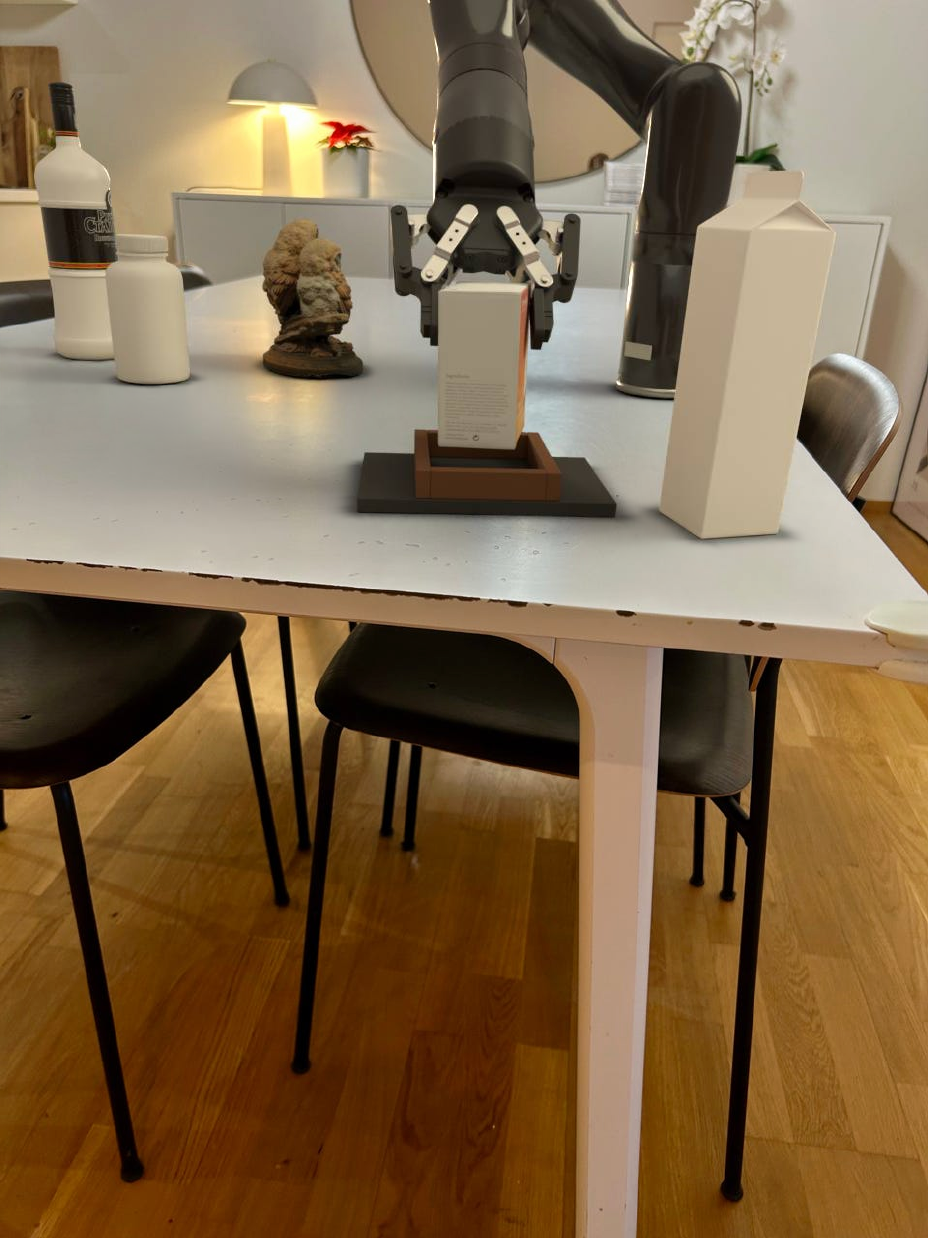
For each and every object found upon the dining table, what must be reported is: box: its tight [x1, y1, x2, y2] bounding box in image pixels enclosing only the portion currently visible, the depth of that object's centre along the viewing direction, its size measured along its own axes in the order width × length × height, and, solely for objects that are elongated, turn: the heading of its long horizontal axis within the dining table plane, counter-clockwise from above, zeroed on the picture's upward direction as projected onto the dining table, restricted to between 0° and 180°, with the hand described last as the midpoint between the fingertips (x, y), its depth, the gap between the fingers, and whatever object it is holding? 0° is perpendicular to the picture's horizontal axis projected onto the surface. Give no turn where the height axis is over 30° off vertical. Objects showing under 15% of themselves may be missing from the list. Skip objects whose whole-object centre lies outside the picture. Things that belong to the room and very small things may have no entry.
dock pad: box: [356, 428, 617, 518], centre depth 68 cm, size 18×12×3 cm
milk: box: [658, 170, 837, 540], centre depth 58 cm, size 6×6×22 cm
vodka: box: [33, 81, 119, 361], centre depth 108 cm, size 9×9×30 cm
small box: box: [437, 280, 531, 450], centre depth 64 cm, size 8×6×10 cm
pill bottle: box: [105, 233, 191, 385], centre depth 99 cm, size 8×8×15 cm
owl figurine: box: [261, 218, 364, 378], centre depth 109 cm, size 18×12×17 cm, turn 28°
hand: (486, 340), depth 62 cm, fingers closed on small box, 6 cm apart
